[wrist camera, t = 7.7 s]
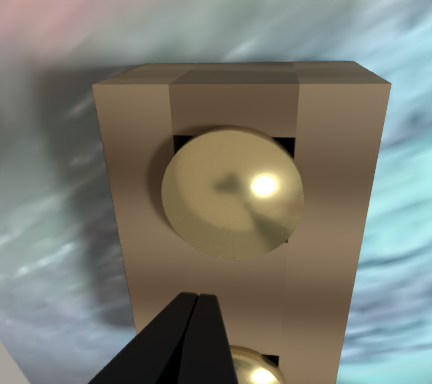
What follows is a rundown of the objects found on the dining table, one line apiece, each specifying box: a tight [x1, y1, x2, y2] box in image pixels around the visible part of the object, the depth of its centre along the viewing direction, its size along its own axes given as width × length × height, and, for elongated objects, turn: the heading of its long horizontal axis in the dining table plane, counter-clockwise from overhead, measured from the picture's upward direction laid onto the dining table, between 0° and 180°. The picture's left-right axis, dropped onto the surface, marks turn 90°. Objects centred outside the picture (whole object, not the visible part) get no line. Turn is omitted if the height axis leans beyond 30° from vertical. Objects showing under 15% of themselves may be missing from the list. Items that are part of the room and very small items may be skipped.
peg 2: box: [230, 345, 285, 384], centre depth 21 cm, size 5×5×6 cm
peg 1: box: [161, 125, 304, 259], centre depth 16 cm, size 5×5×6 cm
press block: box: [92, 61, 391, 384], centre depth 19 cm, size 19×10×6 cm, turn 2°
